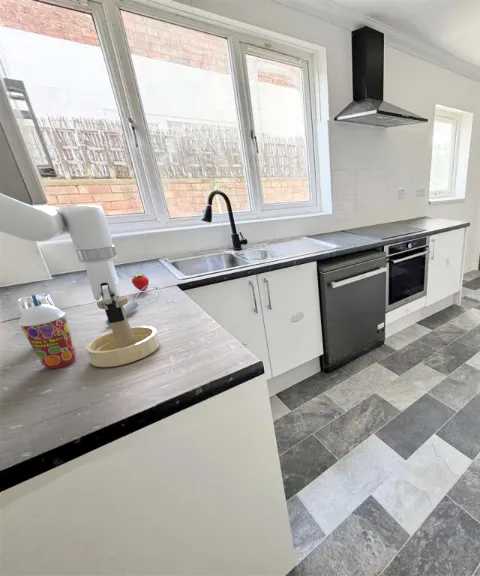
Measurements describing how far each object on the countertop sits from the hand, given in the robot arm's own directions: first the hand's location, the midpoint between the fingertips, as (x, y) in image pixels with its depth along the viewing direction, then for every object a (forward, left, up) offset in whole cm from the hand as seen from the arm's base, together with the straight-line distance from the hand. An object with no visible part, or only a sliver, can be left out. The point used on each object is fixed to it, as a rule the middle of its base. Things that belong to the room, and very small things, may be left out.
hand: (117, 317), depth 86 cm
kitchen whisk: (+2, +40, -12) cm, 42 cm away
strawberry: (+5, +64, -12) cm, 65 cm away
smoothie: (-15, +5, -12) cm, 19 cm away
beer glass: (-19, +24, -12) cm, 33 cm away
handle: (0, 0, -10) cm, 10 cm away
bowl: (0, 0, -11) cm, 11 cm away
